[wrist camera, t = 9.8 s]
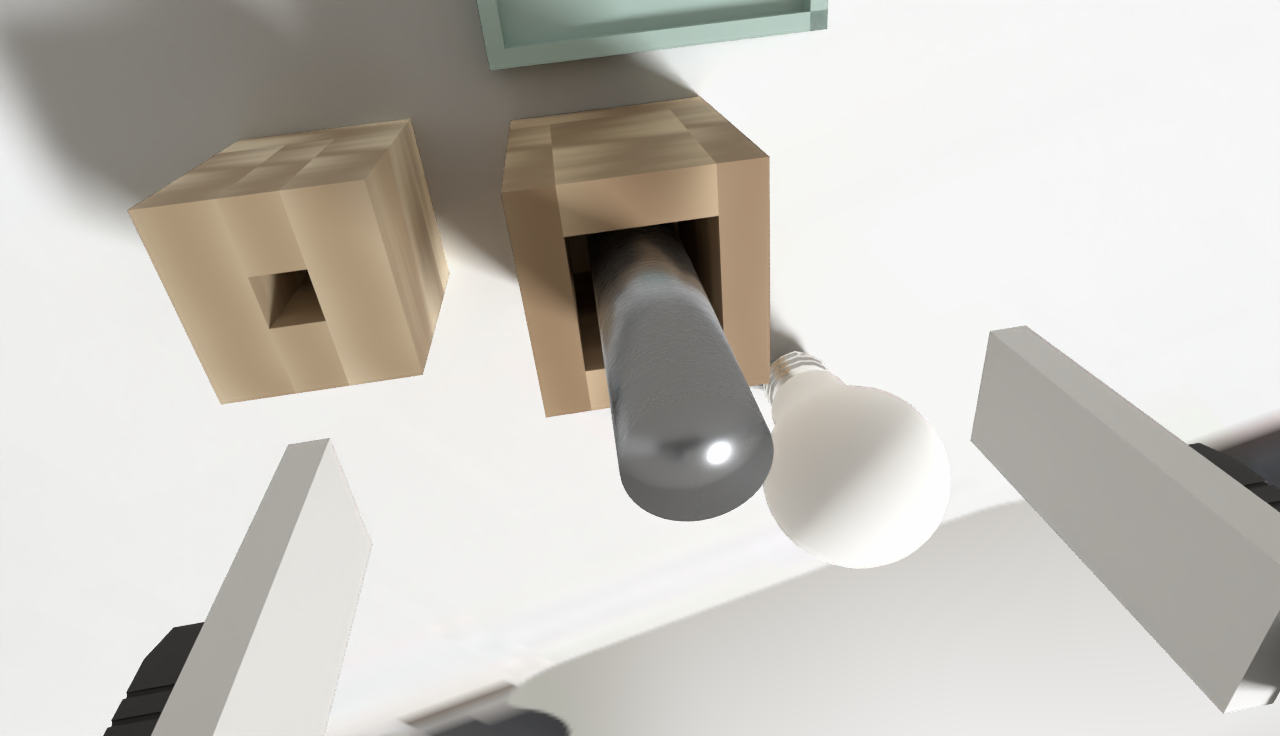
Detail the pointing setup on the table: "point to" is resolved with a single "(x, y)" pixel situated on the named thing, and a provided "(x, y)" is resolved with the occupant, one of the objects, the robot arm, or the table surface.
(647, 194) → the wide-bore block
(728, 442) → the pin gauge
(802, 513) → the light bulb
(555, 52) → the tray
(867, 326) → the table surface
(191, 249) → the narrow-bore block
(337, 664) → the robot arm
